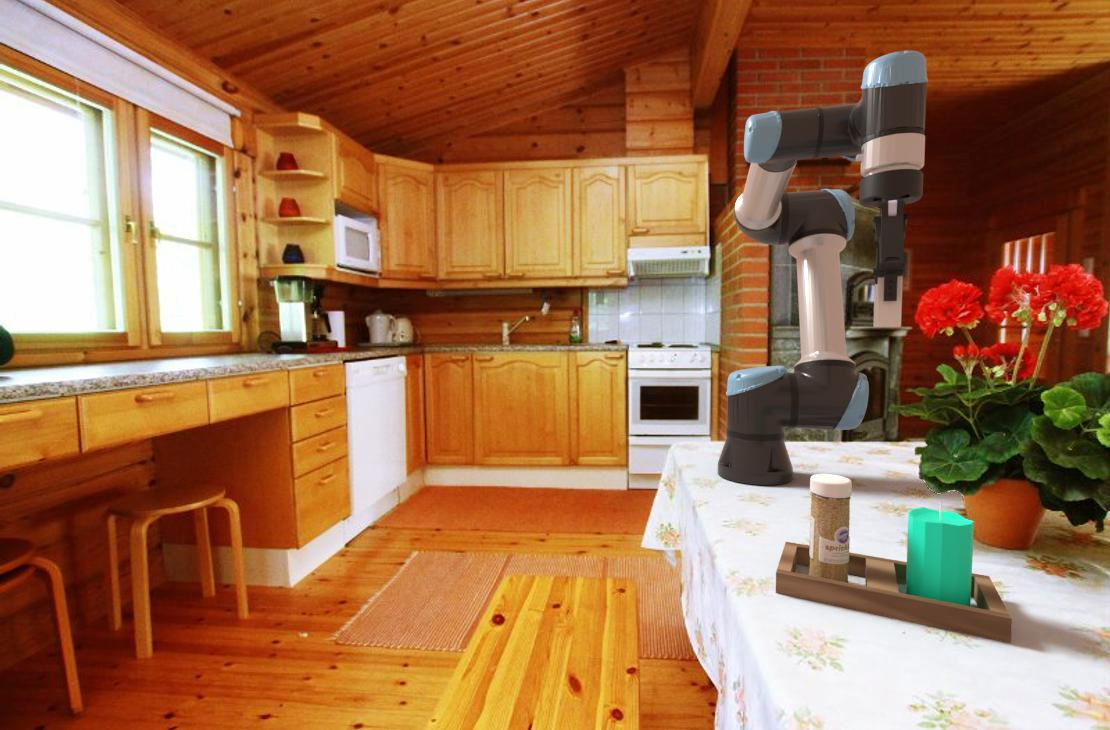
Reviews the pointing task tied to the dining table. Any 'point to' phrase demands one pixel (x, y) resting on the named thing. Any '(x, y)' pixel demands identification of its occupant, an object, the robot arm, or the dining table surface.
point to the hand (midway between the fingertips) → (886, 327)
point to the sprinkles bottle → (829, 526)
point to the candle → (939, 555)
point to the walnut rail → (894, 594)
